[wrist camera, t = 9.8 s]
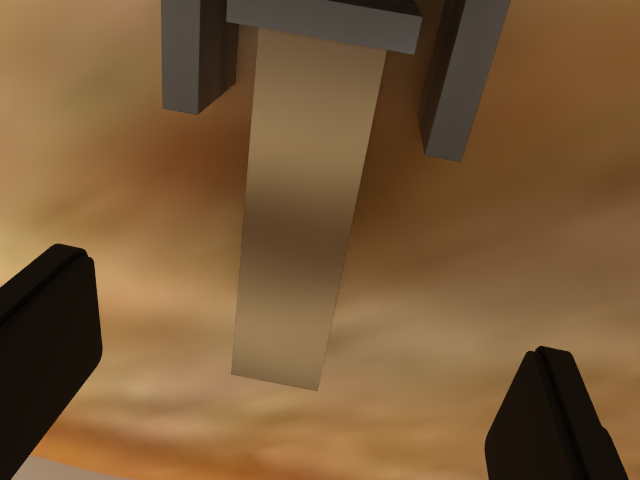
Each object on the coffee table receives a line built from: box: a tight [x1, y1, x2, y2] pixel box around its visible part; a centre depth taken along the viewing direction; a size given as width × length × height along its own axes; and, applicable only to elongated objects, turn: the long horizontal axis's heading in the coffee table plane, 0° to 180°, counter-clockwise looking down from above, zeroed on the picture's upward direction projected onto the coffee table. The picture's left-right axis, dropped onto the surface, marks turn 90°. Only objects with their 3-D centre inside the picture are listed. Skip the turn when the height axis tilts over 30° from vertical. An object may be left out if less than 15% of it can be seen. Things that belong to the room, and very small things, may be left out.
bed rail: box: [226, 0, 423, 391], centre depth 17 cm, size 13×4×5 cm, turn 172°
